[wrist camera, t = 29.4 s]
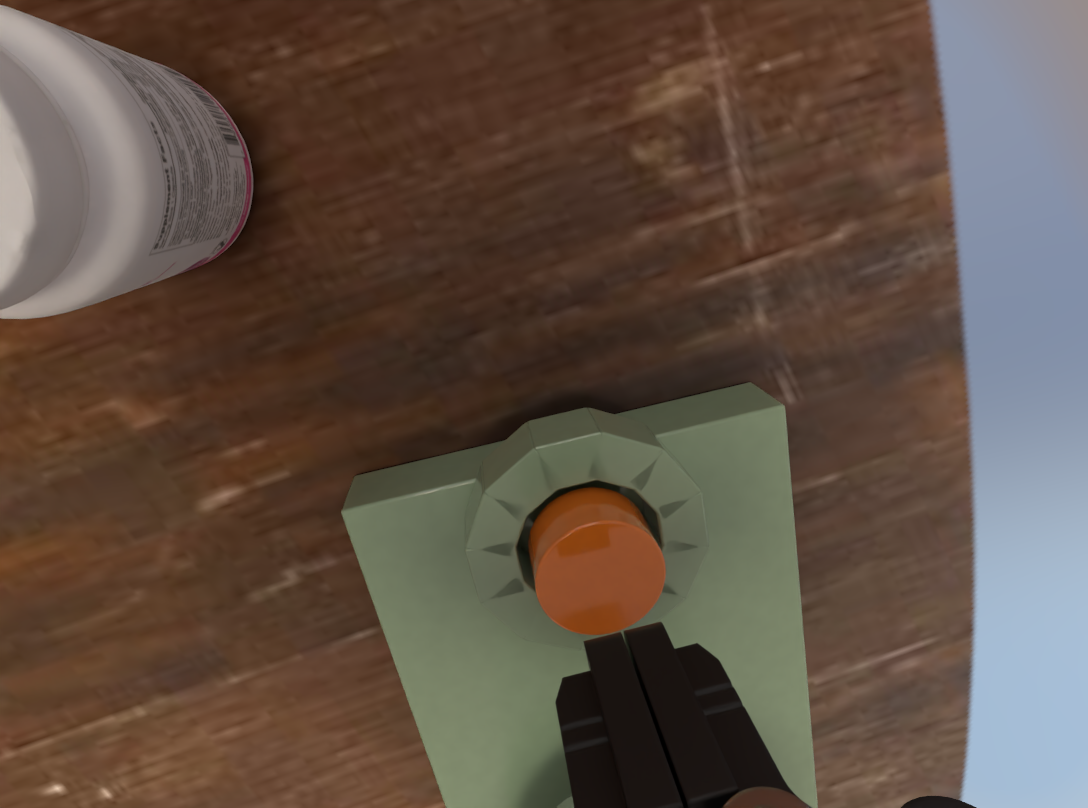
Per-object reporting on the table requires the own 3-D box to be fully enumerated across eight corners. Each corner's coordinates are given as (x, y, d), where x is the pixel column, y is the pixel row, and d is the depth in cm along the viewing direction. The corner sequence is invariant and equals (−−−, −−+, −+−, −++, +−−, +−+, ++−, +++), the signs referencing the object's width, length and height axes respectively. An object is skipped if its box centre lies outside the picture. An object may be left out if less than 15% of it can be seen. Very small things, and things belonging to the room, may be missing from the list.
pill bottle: (65, 268, 16) (-317, 353, 8) (27, 53, 15) (-485, -96, 7) (267, 276, 17) (93, 361, 9) (250, 70, 15) (22, -48, 7)
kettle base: (339, 435, 18) (307, 501, 15) (747, 340, 19) (818, 379, 15) (494, 890, 25) (499, 1016, 21) (794, 810, 25) (851, 919, 22)
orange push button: (516, 502, 16) (522, 540, 14) (636, 473, 16) (656, 507, 14) (541, 603, 17) (550, 650, 15) (654, 576, 17) (675, 618, 15)
